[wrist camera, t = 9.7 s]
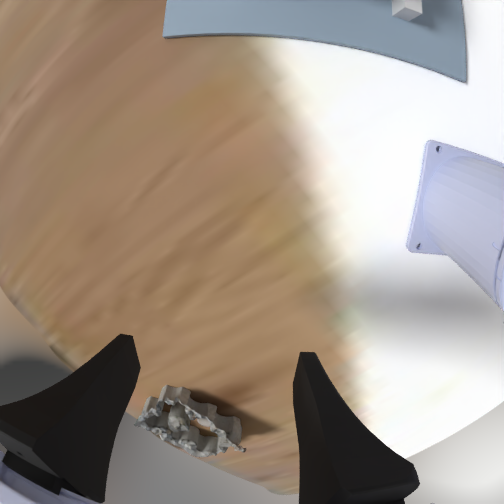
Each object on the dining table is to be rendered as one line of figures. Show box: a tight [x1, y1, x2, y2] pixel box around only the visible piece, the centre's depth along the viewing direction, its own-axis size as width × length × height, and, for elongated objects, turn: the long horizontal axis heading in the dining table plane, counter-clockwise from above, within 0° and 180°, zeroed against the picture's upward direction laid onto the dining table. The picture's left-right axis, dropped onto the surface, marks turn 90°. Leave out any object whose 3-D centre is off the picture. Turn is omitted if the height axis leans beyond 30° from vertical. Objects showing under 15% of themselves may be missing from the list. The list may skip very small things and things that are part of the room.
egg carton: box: [134, 385, 246, 457], centre depth 27 cm, size 11×8×4 cm
